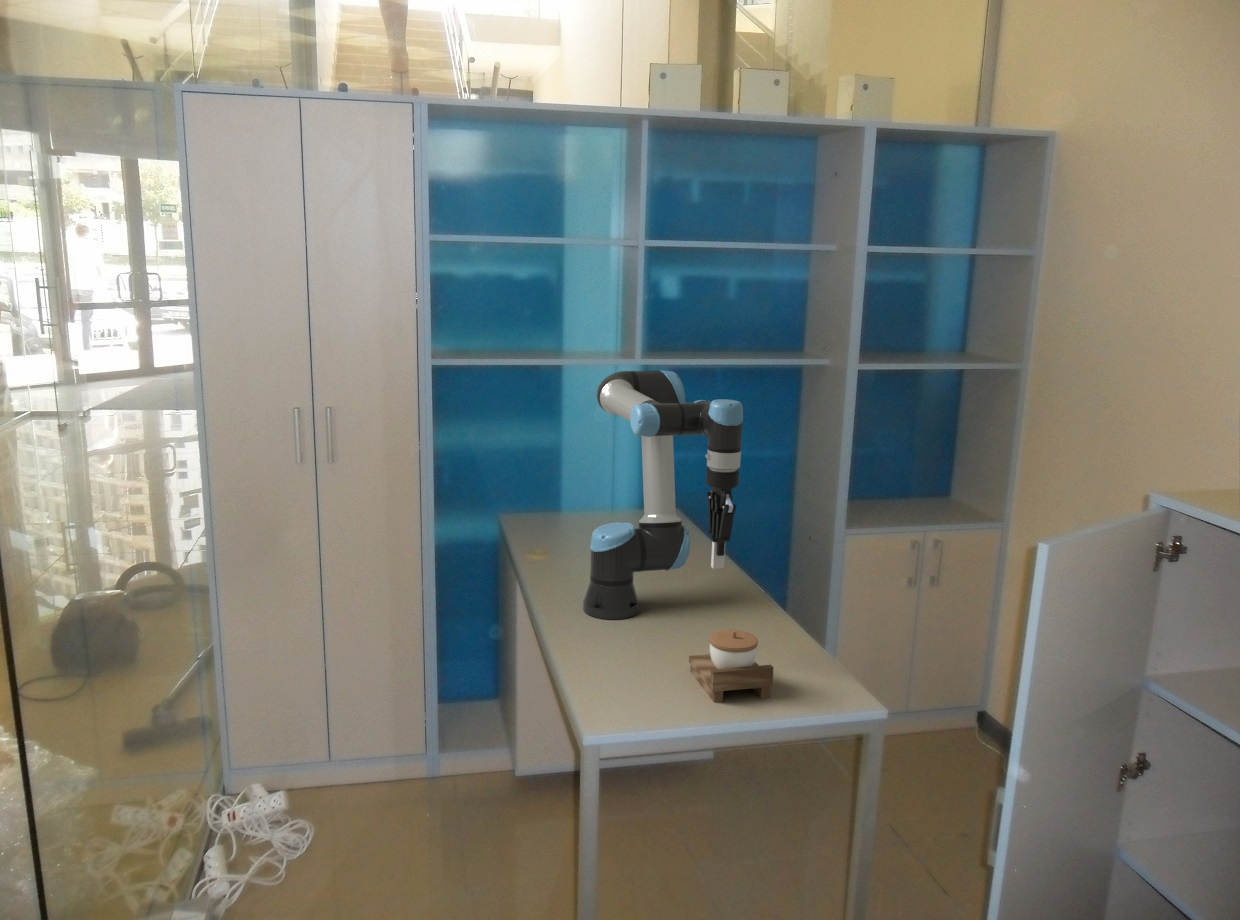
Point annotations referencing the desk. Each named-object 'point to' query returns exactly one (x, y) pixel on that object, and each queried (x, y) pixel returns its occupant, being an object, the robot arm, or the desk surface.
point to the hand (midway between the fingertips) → (717, 567)
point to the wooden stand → (730, 677)
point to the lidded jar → (732, 648)
